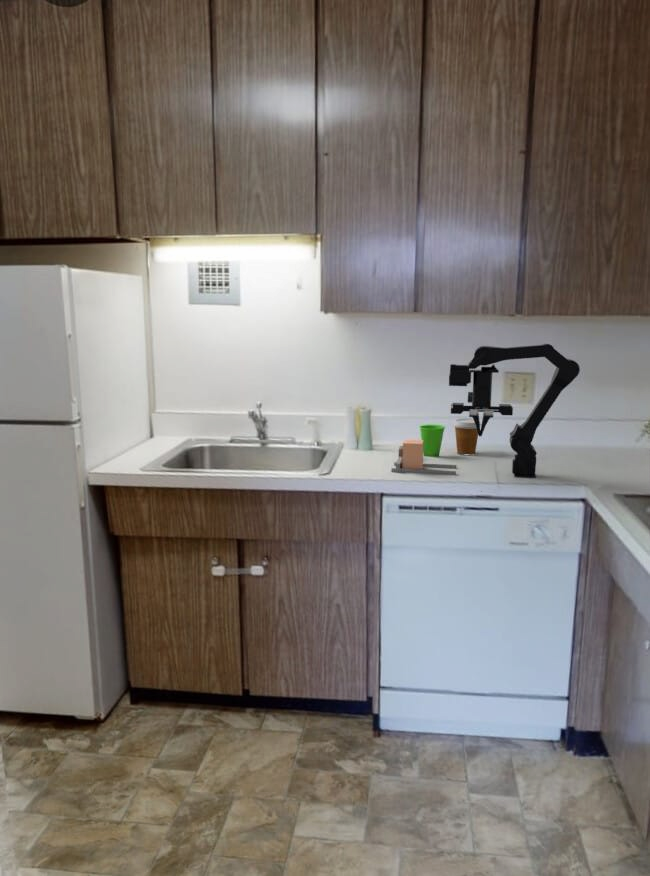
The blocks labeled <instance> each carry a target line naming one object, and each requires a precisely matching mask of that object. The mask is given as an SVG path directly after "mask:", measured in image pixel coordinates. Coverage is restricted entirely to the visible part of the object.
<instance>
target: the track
mask: <svg viewBox="0 0 650 876" xmlns="http://www.w3.org/2000/svg"><path fill="white" fill-rule="evenodd" d="M393 465H394V466H395V467H391V469H390V471H391V473H408V474H409V473H410V474H427V475H428V474H431V475H449V476H450V475H451V476H452V475H453V476H456V475H457V470H455V469H457V468H458V467H457V464H447V463H446V464H444V463H424V462H423V468H433V469H402V468H403V457H399V456H398V458H397V461H395V462H393ZM435 468H437V469H435ZM438 468H439V469H440V470H439V469H438ZM442 469H443V470H442ZM444 469H454V470H444Z"/></svg>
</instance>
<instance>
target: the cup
mask: <svg viewBox="0 0 650 876" xmlns="http://www.w3.org/2000/svg"><path fill="white" fill-rule="evenodd" d="M418 428H419V430H420V437H421V438H420V440H423V457H431V458H432V457H433V458H434V457H435V458H439V457H440V454H441V453H440V452H441V447H442V442H443V437H444V431H445V429H446V427H445V425H440V424H421V425H419V427H418Z"/></svg>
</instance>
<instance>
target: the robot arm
mask: <svg viewBox="0 0 650 876" xmlns="http://www.w3.org/2000/svg"><path fill="white" fill-rule="evenodd" d="M532 358H533V359H534V358H545V359H547V361H549V362H550V363H551V365H553V366H554V367H555V370H554V372H553V376H552V377H551V381H550V384H549V385H548V386H547V387H546V389H545V391H544V392H543V394H542V395H541V396H540V399H539V400H538V401H537V403H536V405H535V406H534V408H533V409H532V411H531V412H530V414H529V415H528V417H527V418H526V420H525V421H523V422H522V424H521V425H520V424H518V423H516V424H515V425H514V428H513V430H512V431H511V432H509V444H510V447H511V449H512V450H513V451H514V453H516V454H514V458H513V459H512V463H511V472H512V474H513V477H515V478H520V477H521V478H537V475H536V474H537V473H536V472H537V470H536V468H537V467H536V466H537V451H536V449H535V447H534V445H533V444H532V442H533V440H534V436H535V434H536V431H537V428H538V427H539V426H540V424H541V423H542V421H543V419H544V418H545V416H547V413H548V412H549V411H550V409H551V408H552V406H553V405H554V403H555V402H556V400H557V398H558V397H559V396H560V394H561V393H562V391H564V389H565V388H567V387H568V386H569V385H570V384H571V383H572V382H573V381H574V380H575V379H576V378H577V377H578V375H579V374H580V371H581V369H580V365H579V364H578V362H577V361H575V360H574V359H570V358H566V357H565V356H564V355H562V354H561V353H560V352H559V351H558V350H556V349H555V348H554V346H553V345H552V344H551V343H543V344H533V345H523V346H522V345H520V346H510V347H503V346H502V347H501V346H500V347H499V346H493V345H480V346H478V347H477V348H476V349H475V350H474V353H473V357H472V359H471V360H470V361H468V363H467V364H455V363H452V364H450V366H449V368H450V369H449V374H448V375H449V376H448V386H449V387H468V385H469V384H471V382H472V391H468V392H467V403H469V404H471V405H465V404H464V403H465V402H452V403H451V404H450V414H454V415H461V414H462V413H464V412H468V416H469V418H472V419H473V420H474V422H475V424H476V427H477V431H478V437H482V436H483V433H484V431H485V428H486V426H487V424H488V423H489V420H490V419H491V418H494V413H499V414H500V415H502V416H513V414H514V413H513V412H514V410H513V409H514V407H513V406H512V405H511V403H498V406H496V405H493V406H492V389H493V388H492V387H493V373H499V369H498V368H497V367H496V365H495V364H497V363H501V362H503V361H508V360H521V359H532ZM488 365H491V366H488ZM480 366H481V367H480ZM478 367H480V369H477V368H478ZM472 374H473V375H472ZM472 377H473V378H472ZM479 412H480V413H483V414H482V419H481V422H480V423H479V421H480V415H479ZM480 424H481V426H480Z"/></svg>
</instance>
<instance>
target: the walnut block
mask: <svg viewBox="0 0 650 876" xmlns="http://www.w3.org/2000/svg"><path fill="white" fill-rule="evenodd" d="M399 457H403V445H400V446H399V447H398V458H399Z"/></svg>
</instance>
